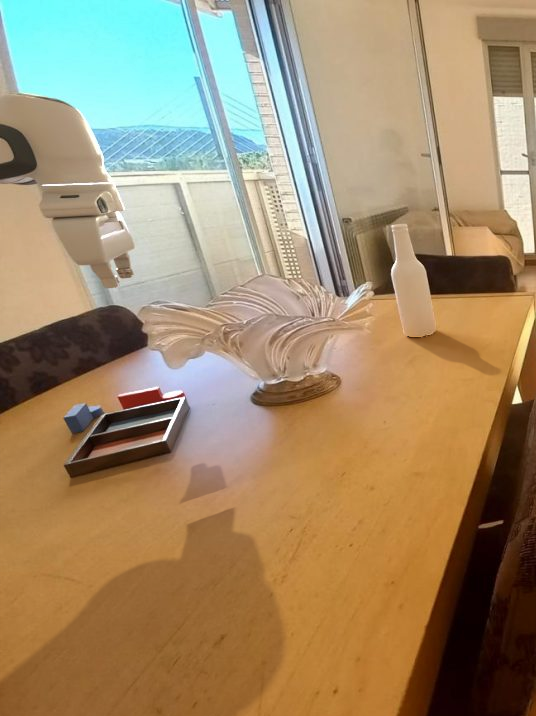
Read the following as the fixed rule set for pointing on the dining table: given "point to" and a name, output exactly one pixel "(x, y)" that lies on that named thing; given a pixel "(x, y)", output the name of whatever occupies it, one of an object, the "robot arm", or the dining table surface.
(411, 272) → the alcohol
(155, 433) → the tray
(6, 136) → the robot arm
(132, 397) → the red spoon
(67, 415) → the blue toy piece
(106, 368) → the dining table surface
